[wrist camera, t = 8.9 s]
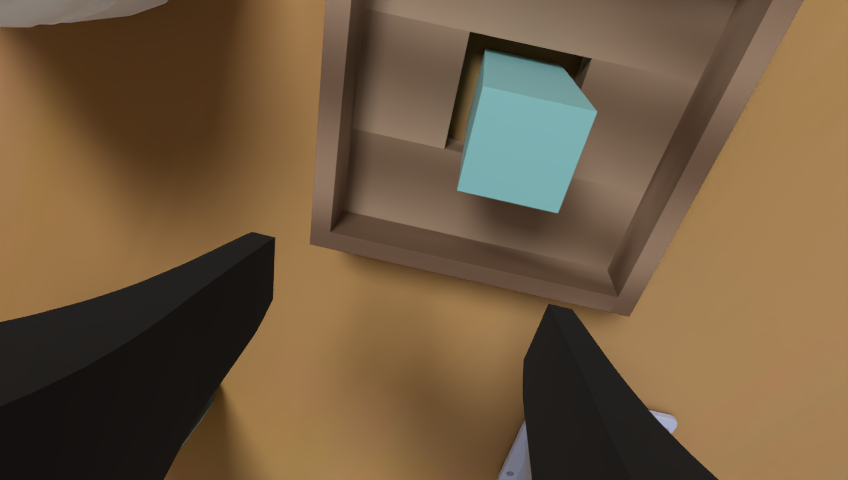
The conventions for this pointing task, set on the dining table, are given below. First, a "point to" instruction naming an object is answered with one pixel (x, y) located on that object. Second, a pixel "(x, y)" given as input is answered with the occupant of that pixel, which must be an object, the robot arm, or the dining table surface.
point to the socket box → (599, 161)
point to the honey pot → (68, 10)
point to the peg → (524, 132)
